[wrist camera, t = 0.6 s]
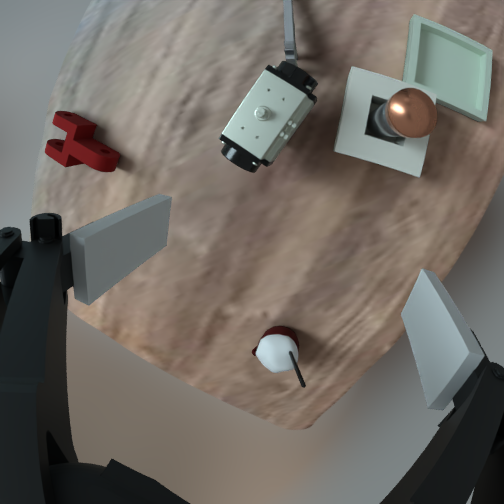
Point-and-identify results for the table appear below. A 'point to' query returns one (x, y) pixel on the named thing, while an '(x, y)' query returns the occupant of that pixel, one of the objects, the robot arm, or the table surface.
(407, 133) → the pin
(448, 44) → the tray
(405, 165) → the block
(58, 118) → the mechanical linkage
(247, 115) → the pneumatic valve
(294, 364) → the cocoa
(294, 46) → the caliper
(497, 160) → the table surface
